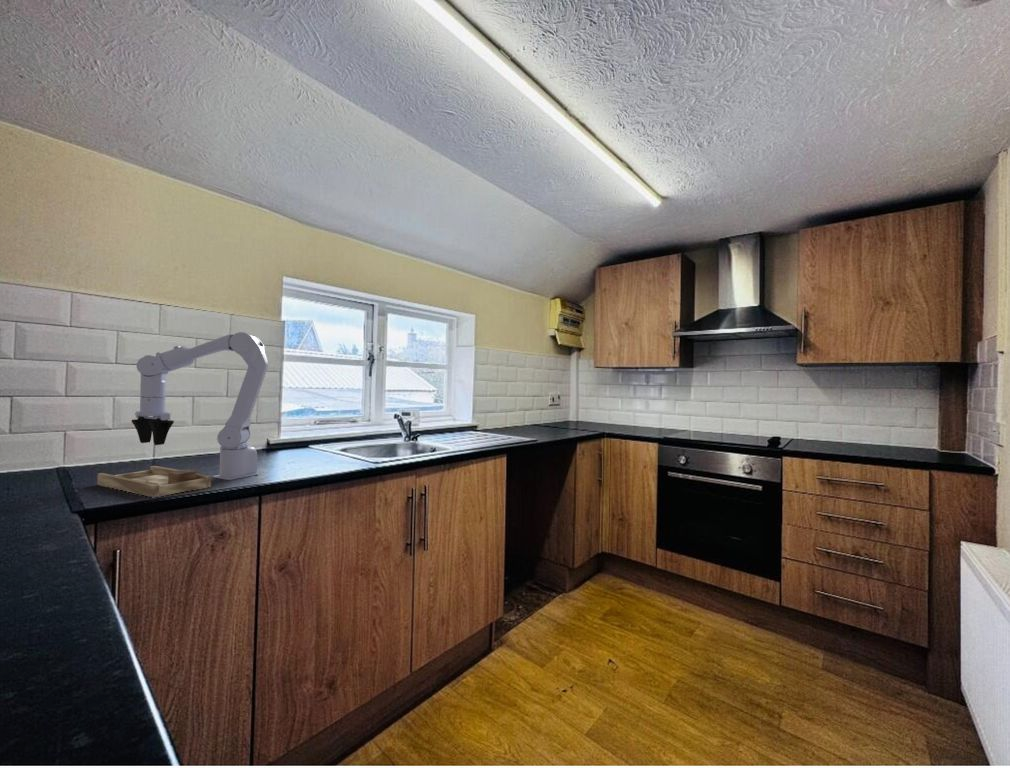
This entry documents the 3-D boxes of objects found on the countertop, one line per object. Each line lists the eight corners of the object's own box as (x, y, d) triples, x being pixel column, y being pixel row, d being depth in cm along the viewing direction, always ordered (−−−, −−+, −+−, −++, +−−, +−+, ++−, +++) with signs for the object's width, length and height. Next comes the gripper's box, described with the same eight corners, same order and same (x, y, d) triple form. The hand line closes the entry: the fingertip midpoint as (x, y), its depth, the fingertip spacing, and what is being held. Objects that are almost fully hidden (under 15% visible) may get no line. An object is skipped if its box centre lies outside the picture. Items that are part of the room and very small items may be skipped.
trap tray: (154, 475, 129) (154, 465, 129) (210, 487, 117) (211, 475, 117) (97, 484, 117) (97, 473, 117) (153, 498, 105) (153, 485, 105)
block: (186, 480, 118) (187, 469, 118) (196, 482, 116) (196, 471, 116) (168, 483, 113) (168, 472, 113) (177, 485, 112) (177, 474, 112)
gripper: (123, 396, 125) (122, 443, 125) (150, 398, 118) (149, 447, 118) (152, 396, 131) (151, 440, 131) (178, 397, 125) (177, 444, 125)
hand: (152, 443), depth 125 cm, fingers open, 7 cm apart
